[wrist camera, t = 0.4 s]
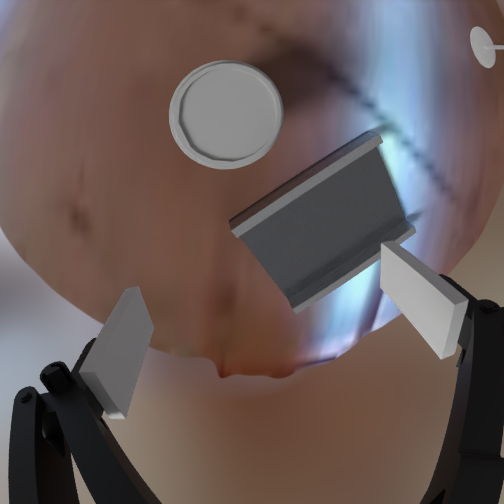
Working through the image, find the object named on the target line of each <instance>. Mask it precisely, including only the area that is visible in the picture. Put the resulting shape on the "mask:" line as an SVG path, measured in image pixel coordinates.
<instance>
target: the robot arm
mask: <svg viewBox="0 0 504 504" xmlns="http://www.w3.org/2000/svg"><path fill="white" fill-rule="evenodd" d="M380 288H381V289H382V290H383V291H384V292H385V293H386V294H387V295H388V297H389V298H390V299H391V300H392V301H393V302H394V303H395V305H396V306H397V307H398V308H399V309H400V310H401V312H402V313H403V314H404V315H405V316H406V317H407V319H408V320H409V321H410V322H411V323H412V325H413V326H414V327H415V328H416V329H417V330H418V332H419V333H420V334H421V335H422V336H423V338H424V339H425V340H426V341H427V343H428V344H429V345H430V346H431V348H432V349H433V350H434V351H435V353H436V354H437V355H438V356H439V358H440V359H444V358H446V357H448V356H451V355H452V354H454V353H455V350H456V347H457V343H458V344H459V345H460V346H461V347H462V351H461V354H460V357H459V360H458V363H457V365H456V367H459V369H458V376H457V382H456V389H455V394H454V399H453V404H452V409H451V414H450V418H449V422H448V426H447V431H446V434H445V438H444V442H443V445H442V449H441V452H440V456H439V459H438V462H437V465H436V468H435V471H434V474H433V477H432V480H431V482H430V485H429V487H428V490H427V492H426V493H425V495H424V497H423V499H422V500H421V502H420V504H498V502H499V498H500V494H501V490H502V485H503V480H504V458H502V457H501V456H500V451H501V444H502V436H503V426H504V307H500V306H499V305H498V304H497V303H495V302H493V301H491V300H487V299H485V300H484V299H483V300H477V299H476V298H475V297H473V296H472V295H471V294H470V293H469V292H467V291H466V290H465V289H463V288H462V287H461V286H460V285H459V284H457V283H456V282H455V281H454V280H452V279H451V278H450V277H447V276H445V275H442V274H439V275H438V274H437V273H435V272H434V271H433V270H432V269H430V268H429V267H428V266H426V265H425V264H424V263H423V262H421V261H420V260H419V259H417V258H416V257H415V256H413V255H412V254H411V253H409V252H408V251H407V250H405V249H404V248H403V247H401V246H400V245H399V244H397V243H396V242H394V241H393V240H392V241H387V242H382V243H381V277H380ZM153 330H154V326H153V324H152V321H151V319H150V316H149V313H148V311H147V308H146V305H145V303H144V300H143V297H142V295H141V292H140V289H139V286H137V287H131V288H126V289H125V291H124V292H123V294H122V296H121V297H120V299H119V301H118V302H117V304H116V306H115V307H114V309H113V311H112V312H111V314H110V316H109V318H108V319H107V321H106V323H105V324H104V326H103V328H102V330H101V331H100V333H99V335H98V337H97V338H93V339H92V340H91V341H90V342H89V343H88V344H87V345H86V346H85V348H84V350H83V351H82V354H81V355H80V357H79V359H78V360H77V362H76V364H75V366H74V368H73V370H72V371H71V372H70V371H69V369H68V367H67V366H66V364H65V363H64V362H61V361H58V362H54V363H51V364H49V365H48V366H46V367H45V368H44V369H43V370H42V372H41V374H40V380H41V381H42V383H43V384H44V386H45V387H46V388H47V390H48V391H49V392H48V393H43V394H39V393H38V392H37V390H36V389H35V388H34V387H31V386H29V387H25V388H23V389H21V390H20V391H19V392H18V393H17V395H16V397H15V399H14V405H13V413H12V421H11V431H10V444H9V473H8V474H9V476H8V479H9V504H80V503H79V499H78V494H77V489H76V484H75V478H74V472H73V467H72V459H71V453H72V455H73V458H74V460H75V463H76V465H77V467H78V469H79V471H80V473H81V475H82V478H83V480H84V482H85V484H86V486H87V488H88V490H89V492H90V493H91V495H92V497H93V499H94V501H95V503H96V504H162V503H161V502H160V501H159V499H158V498H157V497H156V496H155V494H154V493H153V492H152V491H151V490H150V488H149V487H148V486H147V484H146V483H145V481H144V480H143V479H142V477H141V476H140V475H139V473H138V472H137V471H136V469H135V468H134V466H133V465H132V464H131V462H130V461H129V459H128V458H127V456H126V455H125V453H124V452H123V450H122V449H121V447H120V445H119V444H118V442H117V441H116V439H115V437H114V436H113V434H112V433H111V431H110V429H109V427H108V426H107V424H106V422H105V421H104V420H103V418H102V414H103V411H105V412H106V414H107V415H108V416H109V418H111V419H126V416H127V412H128V409H129V406H130V402H131V399H132V395H133V392H134V389H135V385H136V382H137V379H138V376H139V373H140V370H141V367H142V363H143V360H144V357H145V354H146V351H147V348H148V345H149V342H150V339H151V336H152V333H153Z"/></svg>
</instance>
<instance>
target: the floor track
mask: <svg viewBox="0 0 504 504" xmlns="http://www.w3.org/2000/svg"><path fill="white" fill-rule="evenodd" d="M381 143H383V141H382V139H381V136H380V134H377V133H372V132H368V131H366V132H364V133H363V134H361V135H360V136H358V137H356V138H355V139H353V140H351V141H350V142H348V143H347V144H345V145H343V146H342V147H340V148H339V149H337V150H335V151H334V152H332V153H331V154H329V155H328V156H326V157H324V158H323V159H321V160H320V161H318V162H316V163H315V164H313V165H312V166H310V167H309V168H307V169H306V170H304V171H303V172H301V173H299V174H298V175H296V176H295V177H293V178H292V179H290V180H289V181H287V182H286V183H284V184H283V185H281V186H280V187H278V188H277V189H275V190H274V191H272V192H271V193H269V194H268V195H266V196H265V197H263V198H262V199H260V200H259V201H257V202H256V203H254V204H253V205H251V206H250V207H248V208H247V209H245V210H244V211H242V212H241V213H239V214H238V215H236V216H235V217H234V218H232V219H231V220H229V224H230V228H231V231H232V232H233V234H234V235H235V236H236V238H238V237H239V236H240V237H241V239H242V240H243V241H244V243H245V244H246V245H247V247H248V248H249V249H250V250H251V252H252V253H253V254H254V256H255V257H256V258H257V260H258V261H259V262H260V263H261V265H262V266H263V267H264V269H265V270H266V271H267V273H268V274H269V275H270V276H271V278H272V279H273V280H274V282H275V283H276V284H277V285H278V287H279V288H280V289H281V291H282V292H283V293H284V295H285V296H286V297H287V298H288V300H289V303H290V305H291V307H292V309H293V311H294V312H295V313H296V314H297V313H299V312H301V311H302V310H304V309H305V308H307V307H309V306H310V305H312V304H313V303H315V302H316V301H318V300H320V299H321V298H323V297H324V296H326V295H327V294H329V293H330V292H332V291H333V290H335V289H336V288H338V287H339V286H341V285H343V284H344V283H346V282H347V281H348V280H350V279H351V278H353V277H354V276H356V275H357V274H359V273H360V272H362V271H363V270H365V269H366V268H368V267H369V266H370V265H372V264H373V263H375V262H376V261H378V260H379V259H380V258H381V243H382V242H387V241H392V240H393V241H394V242H396V243H397V244H399V245H400V244H401V243H402V242H404V241H405V240H407V239H408V238H409V237H411V236H412V235H413V234H415V233H416V229H415V226H414V225H412V224H411V223H409V222H408V221H406V220H405V217H404V214H403V212H402V209H401V206H400V203H399V201H398V198H397V195H396V193H395V190H394V187H393V185H392V182H391V180H390V177H389V175H388V172H387V170H386V168H385V165H384V163H383V160H382V158H381V156H380V154H379V151H378V149H377V147H376V146H378V145H380V144H381Z"/></svg>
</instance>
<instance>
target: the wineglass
mask: <svg viewBox="0 0 504 504" xmlns="http://www.w3.org/2000/svg"><path fill="white" fill-rule="evenodd" d="M470 41H471V46H472V49H473V52H474V54H475V56H476V58H477V60H478V61H479V62H480V64H482V65H483V66H484V67H486V68H492V66H493V65H494V63H495V56H496V55H495V49H500V50H504V45H493V43H492V41H491V39H490V37H489V35H488V34H487V33H486V31H484V30H483V29H482V28H480V27H474V28H472V30H471V33H470Z"/></svg>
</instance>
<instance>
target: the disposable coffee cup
mask: <svg viewBox="0 0 504 504" xmlns="http://www.w3.org/2000/svg"><path fill="white" fill-rule="evenodd" d="M283 118H284V109H283V103H282V98H281V96H280V93H279V91H278V89H277V87H276V86H275V84H274V83H273V81H272V80H271V79H270V78H269V77H268V76H267V75H266V74H265V73H264V72H262V71H261V70H259V69H258V68H256V67H254V66H252V65H250V64H247V63H244V62H240V61H233V60H223V61H214V62H211V63H208V64H205V65H202V66H201V67H199V68H197V69H195V70H194V71H192V72H191V73H190V74H189V75H188V76H186V77H185V78H184V79H183V80H182V82H181V83H180V84H179V86H178V87H177V89H176V90H175V93H174V95H173V97H172V100H171V103H170V109H169V124H170V128H171V132H172V134H173V137H174V139H175V141H176V143H177V144H178V146H179V147H180V148H181V150H182V151H183V152H184V153H185V154H186V155H187V156H189V157H190V158H191V159H193V160H194V161H196V162H198V163H199V164H202V165H205V166H207V167H210V168H216V169H235V168H239V167H243V166H246V165H248V164H251V163H253V162H255V161H256V160H258V159H259V158H261V157H262V156H264V155H265V154H266V153H267V152H268V151H269V150H270V149H271V147H272V146H273V145H274V143H275V142H276V140H277V138H278V136H279V134H280V131H281V128H282V124H283Z"/></svg>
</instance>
